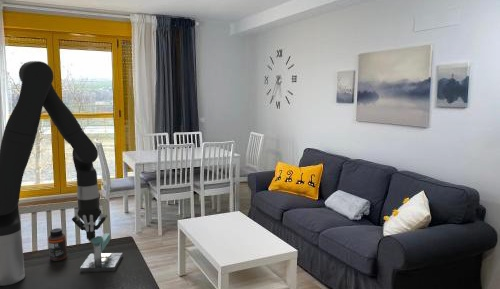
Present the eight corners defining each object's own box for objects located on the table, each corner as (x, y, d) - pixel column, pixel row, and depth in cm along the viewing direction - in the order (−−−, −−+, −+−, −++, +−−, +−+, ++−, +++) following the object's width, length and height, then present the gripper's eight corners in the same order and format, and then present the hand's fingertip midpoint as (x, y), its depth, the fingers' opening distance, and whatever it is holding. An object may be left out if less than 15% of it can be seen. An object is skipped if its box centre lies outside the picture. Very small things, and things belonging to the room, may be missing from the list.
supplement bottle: (62, 253, 156) (60, 225, 154) (69, 257, 152) (68, 229, 151) (46, 258, 152) (44, 230, 150) (54, 263, 148) (52, 234, 146)
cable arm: (90, 256, 140) (89, 241, 139) (102, 239, 155) (101, 226, 154) (101, 256, 140) (101, 241, 140) (112, 239, 155) (112, 226, 154)
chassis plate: (79, 272, 141) (78, 245, 140) (90, 257, 153) (89, 232, 151) (114, 271, 142) (113, 244, 141) (122, 256, 154) (121, 231, 152)
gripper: (66, 199, 145) (69, 244, 147) (103, 198, 145) (106, 243, 148) (73, 193, 152) (76, 236, 155) (109, 192, 153) (111, 235, 156)
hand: (91, 239), depth 152 cm, fingers closed
